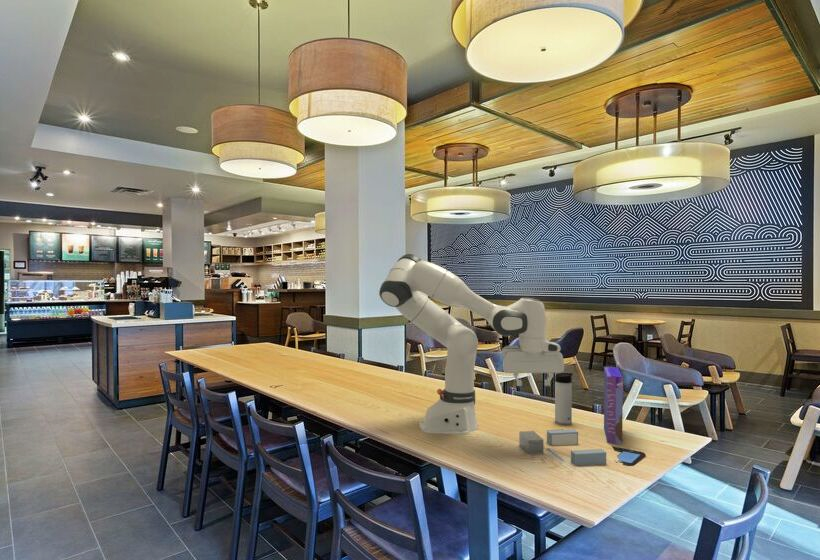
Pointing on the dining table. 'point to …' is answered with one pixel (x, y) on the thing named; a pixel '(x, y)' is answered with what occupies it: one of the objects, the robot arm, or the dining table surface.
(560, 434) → the block
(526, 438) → the steel block
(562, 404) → the travel mug
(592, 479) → the dining table surface
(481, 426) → the dining table surface
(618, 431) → the cereal box
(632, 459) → the game console
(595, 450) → the vise
